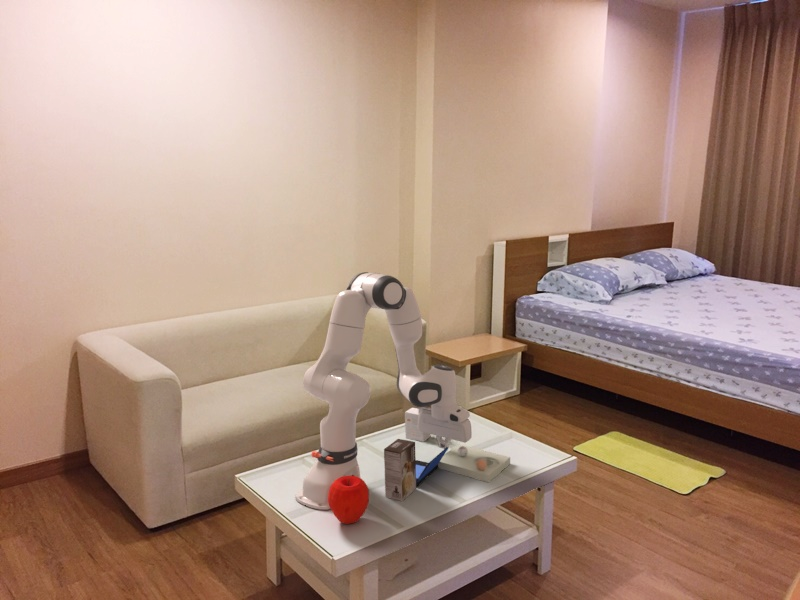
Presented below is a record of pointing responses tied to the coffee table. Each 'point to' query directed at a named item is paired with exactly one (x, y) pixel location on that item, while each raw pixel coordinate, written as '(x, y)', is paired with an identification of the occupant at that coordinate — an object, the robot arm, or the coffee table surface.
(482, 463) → the terracotta ball
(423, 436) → the small box
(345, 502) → the apple
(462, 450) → the steel ball
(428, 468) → the handheld game console
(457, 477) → the coffee table surface
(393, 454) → the coffee box
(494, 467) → the beige flat block
